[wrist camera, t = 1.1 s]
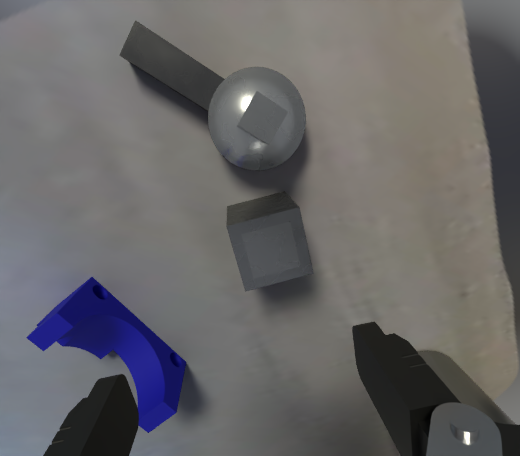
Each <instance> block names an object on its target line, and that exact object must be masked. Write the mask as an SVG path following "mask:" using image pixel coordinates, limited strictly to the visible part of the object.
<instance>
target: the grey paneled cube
mask: <svg viewBox="0 0 520 456" xmlns="http://www.w3.org/2000/svg"><path fill="white" fill-rule="evenodd" d="M227 230H228V233H229V237H230V240H231V243H232V247H233V250H234V254H235V257H236V261H237V264H238V267H239V271H240V274H241V278H242V281H243V285H244V288H245V291H249V290H253V289H257V288H260V287H264V286H268V285H272V284H276V283H279V282H283V281H287V280H291V279H294V278H298V277H302V276H306V275H309V274H313V269H312V264H311V260H310V255H309V250H308V246H307V241H306V236H305V232H304V227H303V222H302V217H301V213H300V208H299V206H298V205H297V204H296V203H295V202H294V201H293V200H292V199H291V198H290V197H289V196H288V195H287V194H286V193H285V191H284V192H281V193H277V194H273V195H269V196H265V197H262V198H258V199H254V200H250V201H246V202H242V203H239V204H235V205H231V206H227Z"/></svg>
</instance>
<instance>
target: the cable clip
mask: <svg viewBox="0 0 520 456" xmlns="http://www.w3.org/2000/svg"><path fill="white" fill-rule="evenodd" d="M37 326H38V327H37V328H36V329H35V330H34V331H33V332H32V333H31V334H30V335H29V336H28V337H27V339H29V340H30V341H31V342H32V343H34V344H35V345H36V346H38V347H39V348H40V349H41V350H43V351H44V350H46V349H47V348H48V347H49V346H51V345H52V344H53V343H54V342H56V341H57V342H58V343H59V344H60V345H62V346H70V347H77V348H81V349H84V350H86V351H88V352H91V353H92V354H94V355H96V356H97V357H99V358H100V359H102V358H103V357H104V356H106V355H107V354H108V353H109V352H111V351H112V350H114V351H115V352H116V353H117V354H118V355H119V356H120V357H121V358H122V360H123V361H124V362H125V364H126V365H127V367H128V368H129V370H130V372H131V374H132V377H133V379H134V382H135V386H136V390H137V396H138V413H139V426H140V427H141V428H143V429H144V430H145V431H147V432H148V433H149V432H150V431H152V430H153V429H155V428H156V427H157V426H159V425H160V424H161V423H163V422H164V421H166V420H167V419H168V418H170V417H171V416H172V415H174V414H175V413H176V412H177V407H178V402H179V397H180V392H181V387H182V381H183V376H184V371H185V366H186V361H184V360H183V359H182V358H181V357H180V356H179V355H178V354H177V353H176V352H175V351H173V350H172V349H171V348H170V347H169V346H168V345H167V344H166V343H165V342H164V341H162V340H161V339H160V338H159V337H158V336H157V335H156V334H155V333H154V332H152V331H151V330H150V329H149V328H148V327H147V326H146V325H145V324H144V323H143V322H141V321H140V320H139V319H138V318H137V317H136V316H135V315H134V314H133V313H132V312H130V311H129V310H128V309H127V308H126V307H125V306H124V305H123V304H122V303H121V302H119V301H118V300H117V299H116V298H115V297H114V296H113V295H112V294H111V293H109V292H108V291H107V290H106V289H105V288H104V287H103V286H102V285H101V284H100V283H98V282H97V281H96V280H95V279H94V278H93V277H91V278H90V279H89V280H87V281H86V282H85V283H84V284H83V285H81V286H80V287H79V288H78V289H76V290H75V291H74V292H73V293H72V294H70V295H69V296H68V297H67V298H66V299H64V300H63V301H62V302H61V303H60V304H58V305H57V306H56V307H55V308H54V309H53V310H52V311H51V312H50V313H49V314H48V315H47V316H46V317H45V318H44V319H43V320H42V321H40V322H39V323H38V324H37Z"/></svg>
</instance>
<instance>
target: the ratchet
mask: <svg viewBox="0 0 520 456" xmlns="http://www.w3.org/2000/svg"><path fill="white" fill-rule="evenodd" d="M120 56H121V57H123V58H124V59H126V60H127V61H129V62H130V63H132V64H133V65H135V66H136V67H138V68H140V69H141V70H143V71H144V72H146V73H148V74H149V75H151V76H152V77H154V78H156V79H157V80H159V81H160V82H162V83H164V84H165V85H167V86H168V87H170V88H172V89H173V90H175V91H176V92H178V93H180V94H181V95H183V96H184V97H186V98H188V99H189V100H191V101H192V102H194V103H196V104H197V105H199V106H200V107H202V108H204V109H205V110H207V111H208V125H209V131H210V135H211V137H212V140H213V142H214V144H215V146H216V148H217V149H218V151H219V152H220V153H221V154H222V155H223V156H224V157H225V158H226V159H227V160H228V161H230V162H231V163H233V164H234V165H236V166H238V167H241V168H244V169H248V170H256V171H258V170H267V169H271V168H274V167H276V166H278V165H280V164H282V163H283V162H285V161H286V160H287V159H288V158H290V157H291V155H292V154H293V153H294V152H295V151H296V149H297V148H298V146H299V144H300V142H301V140H302V138H303V135H304V131H305V124H306V114H305V107H304V103H303V100H302V98H301V96H300V94H299V92H298V90H297V89H296V87H295V86H294V85H293V84H292V82H291V81H290V80H289V79H287V78H286V77H285V76H284V75H282V74H280V73H279V72H277V71H274V70H272V69H268V68H264V67H250V68H245V69H242V70H239V71H237V72H235V73H233V74H231V75H230V76H228V77H227V78H226V79H223V78H222V77H220V76H219V75H217V74H216V73H214V72H213V71H211V70H210V69H208V68H207V67H205V66H204V65H202V64H201V63H199V62H198V61H196V60H195V59H193V58H192V57H190V56H189V55H187V54H185V53H184V52H182V51H181V50H179V49H178V48H176V47H175V46H173V45H172V44H170V43H169V42H167V41H166V40H164V39H163V38H161V37H160V36H158V35H157V34H155V33H154V32H152V31H151V30H149V29H148V28H146V27H145V26H143V25H142V24H140V23H139V22H137V21H135V22H134V24H133V26H132V29H131V31H130V33H129V35H128V38H127V40H126V42H125V44H124V46H123V49H122V51H121V53H120Z"/></svg>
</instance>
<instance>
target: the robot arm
mask: <svg viewBox="0 0 520 456" xmlns="http://www.w3.org/2000/svg"><path fill="white" fill-rule="evenodd" d="M352 331H353V340H354V349H355V357H356V364H357V369H358V372H359V375H360V378H361V380H362V382H363V384H364V386H365V388H366V390H367V392H368V394H369V396H370V398H371V400H372V401H373V403H374V405H375V407H376V409H377V411H378V413H379V415H380V417H381V418H382V420H383V422H384V424H385V426H386V428H387V430H388V432H389V434H390V436H391V437H392V439H393V441H394V443H395V445H396V447H397V449H398V451H399V453H400V454H401V456H520V425H516V424H515V423H514V422H513V421H512V420H511V419H510V418H509V417H508V416H507V415H506V414H505V413H504V412H503V411H502V410H501V409H500V408H499V407H498V406H497V405H496V404H495V403H494V402H493V401H492V399H491V398H490V397H489V396H488V395H487V394H486V393H485V392H484V391H483V390H482V389H481V388H480V387H479V386H478V385H477V384H476V383H475V382H474V381H473V380H472V379H471V378H470V377H469V376H468V375H467V374H466V373H465V372H464V371H463V370H462V369H461V368H460V367H459V366H458V365H457V364H456V363H455V362H454V361H453V360H452V359H451V358H450V357H448V356H447V355H445V354H443V353H440V352H436V351H421V352H417V351H416V350H415V349H414V348H413V346H412V345H411V344H410V343H409V342H408V341H407V340H405V339H403V338H401V337H400V336H398V335H396V334H395V333H393V334H389V335H385V334H384V333H383V331H382V330H381V329H380V327H379V326H378V325H377V324H376V323H375V322H370V323H365V324H360V325H356V326H353V329H352ZM138 425H139V413H138V408H137V405H136V403H135V400H134V397H133V395H132V392H131V389H130V387H129V384H128V381H127V379H126V377H125V376H124V375H123V374H120V375H115V376H110V377H105V378H101V379H99V380H98V381H97V382H96V383H95V385H94V387H93V389H92V391H91V392H90V394H89V396H88V398H83V399H82V400H81V401H80V402H79V403H78V404H77V405H76V406H75V407H74V408H73V409H72V410H71V411H70V412H69V414H68V415H67V417H66V419H65V420H64V422H63V424H62V425H61V427H60V431H58V432H57V434H56V435H55V437H54V439H53V440H52V445H49V447H48V449H47V450H46V452H45V454H44V455H43V456H129V454H130V451H131V448H132V445H133V442H134V439H135V436H136V433H137V430H138Z"/></svg>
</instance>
